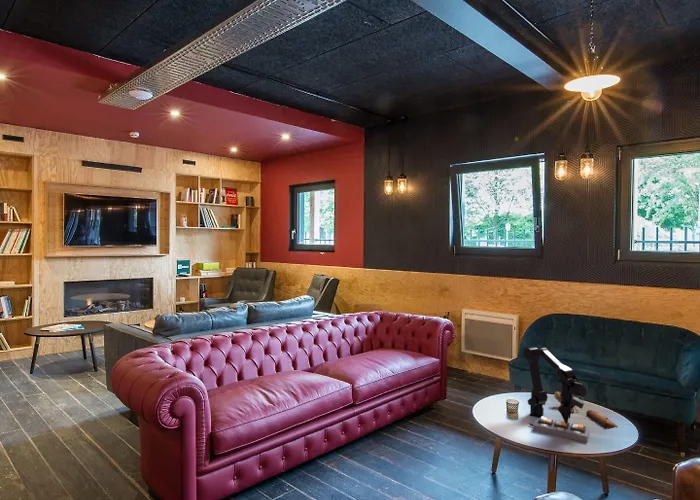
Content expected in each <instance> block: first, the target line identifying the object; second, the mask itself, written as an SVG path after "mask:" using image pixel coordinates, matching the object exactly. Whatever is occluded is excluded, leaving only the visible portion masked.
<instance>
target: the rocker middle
mask: <svg viewBox="0 0 700 500" xmlns="http://www.w3.org/2000/svg"><path fill="white" fill-rule="evenodd" d="M556 421H557V422H556V424H558V425H563V426H567V424H568V423H569V422H568V423H565V421H564V420H556Z"/></svg>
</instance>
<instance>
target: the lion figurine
mask: <svg viewBox="0 0 700 500" xmlns="http://www.w3.org/2000/svg"><path fill="white" fill-rule="evenodd" d="M560 394H561V391H555V392H554V396H553V397H554V399H556V400H557V401H558V403H560V404H559V405H563V404H561V396H560ZM575 411H576V412H577V413H579V410H578V409H577V408H576V406H575V407H573V408H572V413H575Z"/></svg>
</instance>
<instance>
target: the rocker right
mask: <svg viewBox="0 0 700 500" xmlns="http://www.w3.org/2000/svg"><path fill="white" fill-rule="evenodd" d="M572 424H573V426H572V428H577V429H583V428H584V426H585V424H583V423H582V424H580V423H579V424H578V423H577V424H575V423H572Z"/></svg>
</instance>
